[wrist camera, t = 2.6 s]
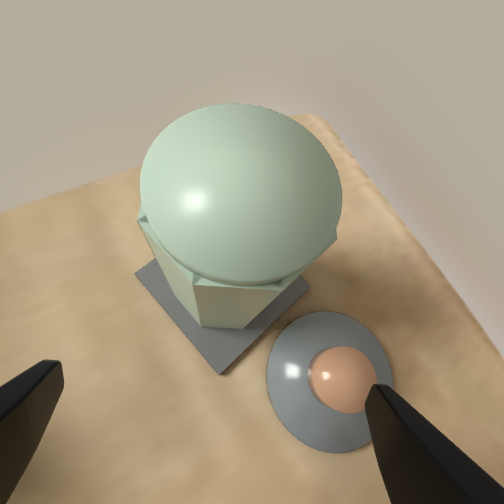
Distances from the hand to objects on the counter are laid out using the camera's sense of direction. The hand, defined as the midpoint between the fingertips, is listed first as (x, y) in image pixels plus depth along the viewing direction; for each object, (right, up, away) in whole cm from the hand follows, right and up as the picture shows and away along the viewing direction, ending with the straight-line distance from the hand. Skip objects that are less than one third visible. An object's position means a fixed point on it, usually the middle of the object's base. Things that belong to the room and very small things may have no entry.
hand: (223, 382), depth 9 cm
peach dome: (+6, -5, +13) cm, 15 cm away
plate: (+6, -5, +13) cm, 15 cm away
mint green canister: (-1, +2, +13) cm, 14 cm away
